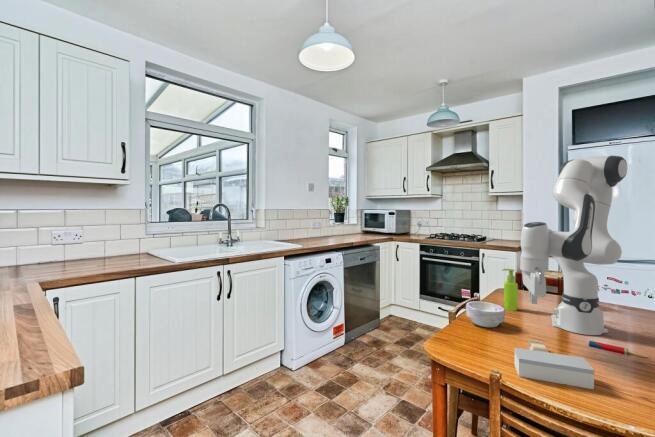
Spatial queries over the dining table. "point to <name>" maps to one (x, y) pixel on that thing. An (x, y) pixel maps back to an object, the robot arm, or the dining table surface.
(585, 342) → the dining table surface
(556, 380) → the end cap
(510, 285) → the soap dispenser
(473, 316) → the paper bowls
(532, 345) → the slat
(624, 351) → the popsicle
